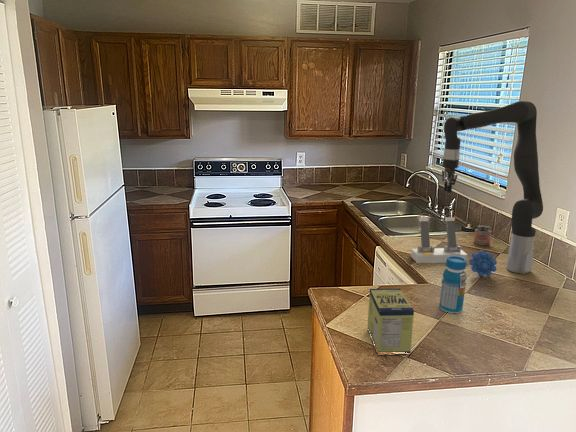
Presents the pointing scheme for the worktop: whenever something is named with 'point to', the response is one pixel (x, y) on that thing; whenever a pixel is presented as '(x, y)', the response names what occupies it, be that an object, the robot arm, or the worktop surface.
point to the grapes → (483, 263)
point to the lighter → (482, 235)
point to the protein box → (390, 320)
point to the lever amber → (424, 234)
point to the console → (436, 254)
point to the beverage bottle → (453, 285)
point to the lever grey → (451, 233)
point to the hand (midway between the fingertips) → (447, 191)
